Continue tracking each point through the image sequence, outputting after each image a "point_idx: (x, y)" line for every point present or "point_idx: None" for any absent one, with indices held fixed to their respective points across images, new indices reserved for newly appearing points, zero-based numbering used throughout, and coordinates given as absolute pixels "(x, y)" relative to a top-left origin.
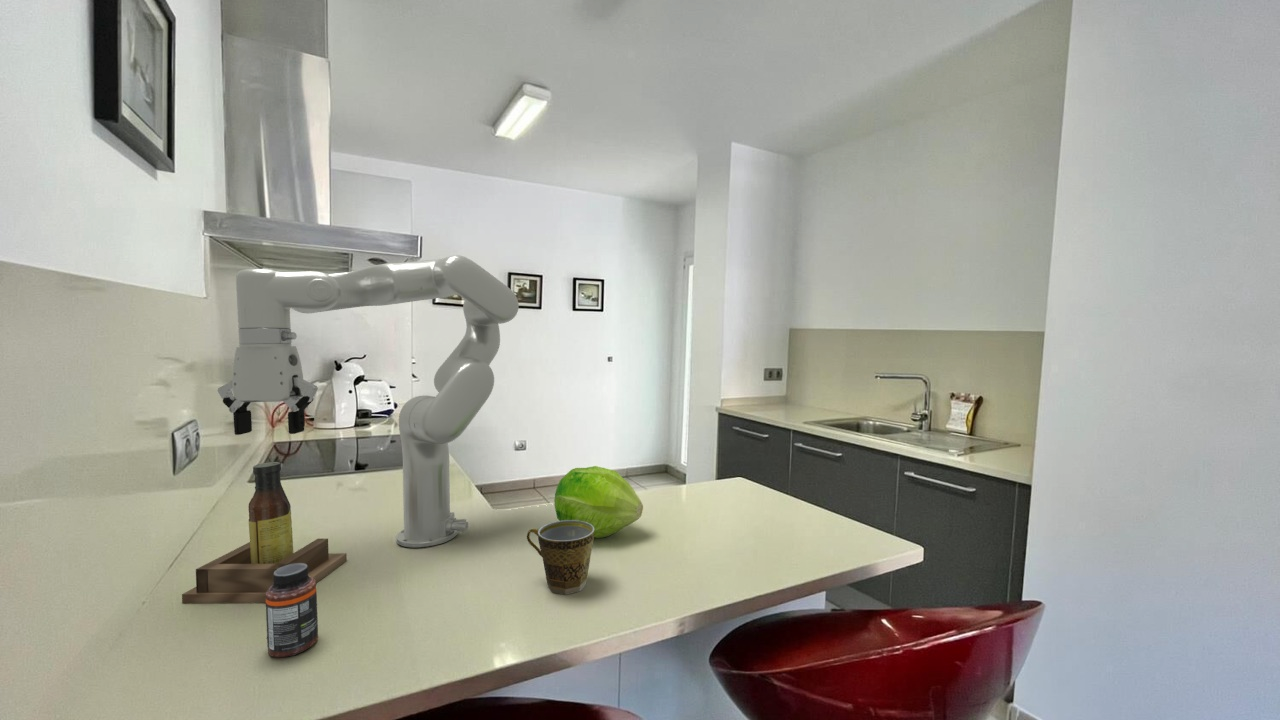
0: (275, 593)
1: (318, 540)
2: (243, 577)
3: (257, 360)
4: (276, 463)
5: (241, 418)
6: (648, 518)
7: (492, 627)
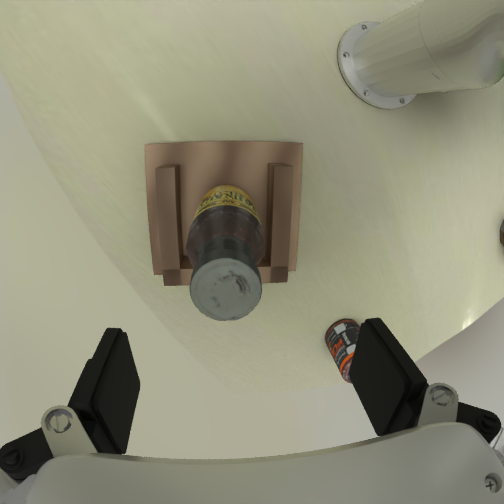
0: None
1: (281, 175)
2: None
3: None
4: (251, 284)
5: (123, 423)
6: None
7: (466, 293)
